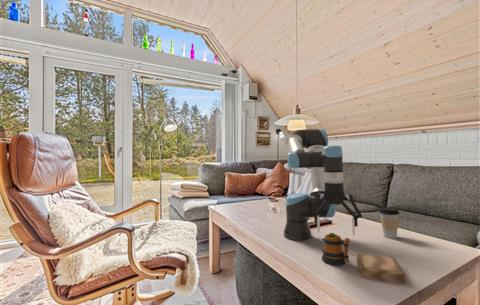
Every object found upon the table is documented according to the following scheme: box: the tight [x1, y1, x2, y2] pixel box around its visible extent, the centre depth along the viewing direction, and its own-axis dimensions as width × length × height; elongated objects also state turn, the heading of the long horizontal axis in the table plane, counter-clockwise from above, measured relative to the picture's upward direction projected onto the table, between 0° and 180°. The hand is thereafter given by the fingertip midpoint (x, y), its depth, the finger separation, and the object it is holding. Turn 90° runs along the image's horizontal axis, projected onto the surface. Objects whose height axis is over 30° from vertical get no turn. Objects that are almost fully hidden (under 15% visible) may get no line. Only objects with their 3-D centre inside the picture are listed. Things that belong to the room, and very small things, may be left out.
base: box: [356, 253, 407, 284], centre depth 89 cm, size 14×14×3 cm
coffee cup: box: [378, 206, 400, 240], centre depth 125 cm, size 9×9×15 cm
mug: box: [320, 232, 351, 267], centre depth 98 cm, size 13×10×12 cm
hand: (335, 232), depth 97 cm, fingers open, 13 cm apart
